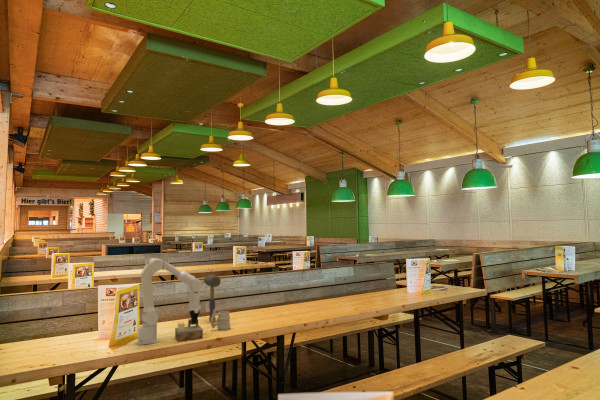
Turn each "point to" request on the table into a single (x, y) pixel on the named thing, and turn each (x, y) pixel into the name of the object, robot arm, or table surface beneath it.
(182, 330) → the lid
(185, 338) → the toolbox
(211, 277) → the rubber mallet
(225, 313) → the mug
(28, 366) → the table surface
